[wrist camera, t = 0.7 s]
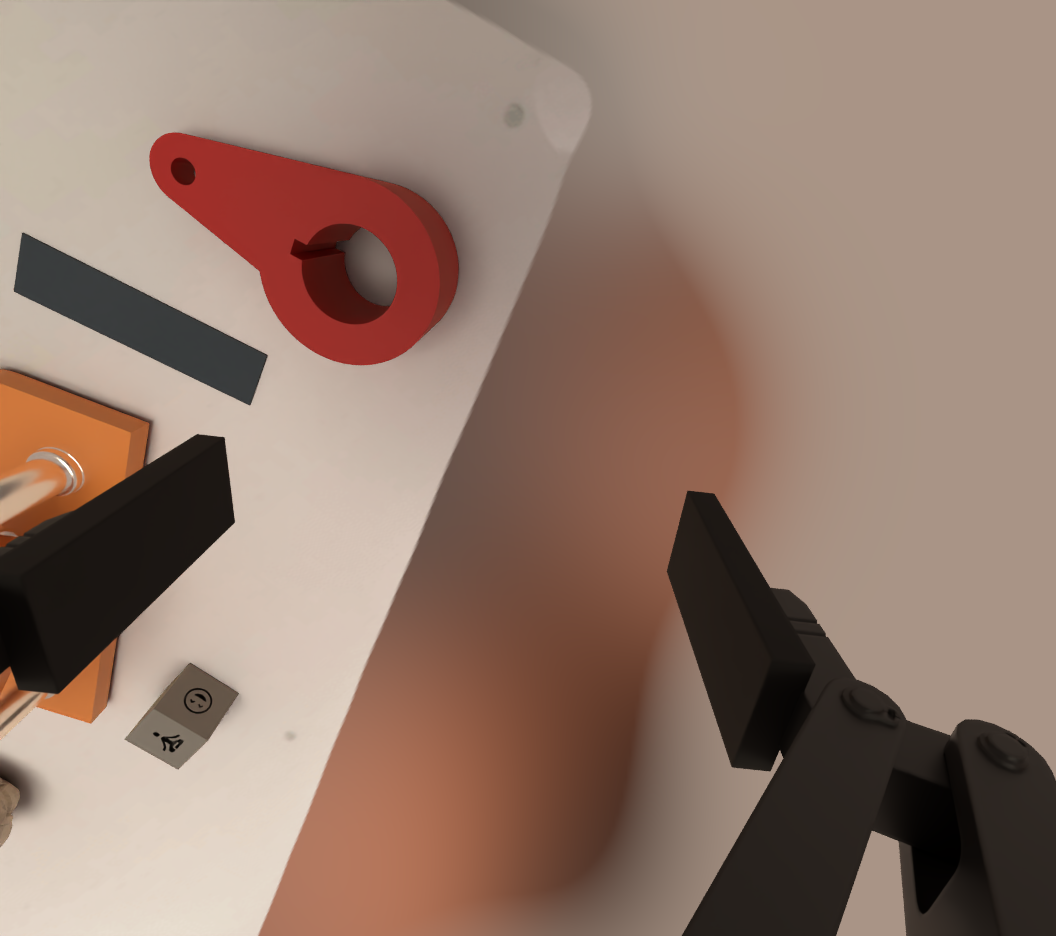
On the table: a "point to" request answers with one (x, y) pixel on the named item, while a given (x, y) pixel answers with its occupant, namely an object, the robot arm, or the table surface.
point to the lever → (316, 242)
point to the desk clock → (58, 503)
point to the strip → (137, 320)
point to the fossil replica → (7, 808)
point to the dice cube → (183, 717)
